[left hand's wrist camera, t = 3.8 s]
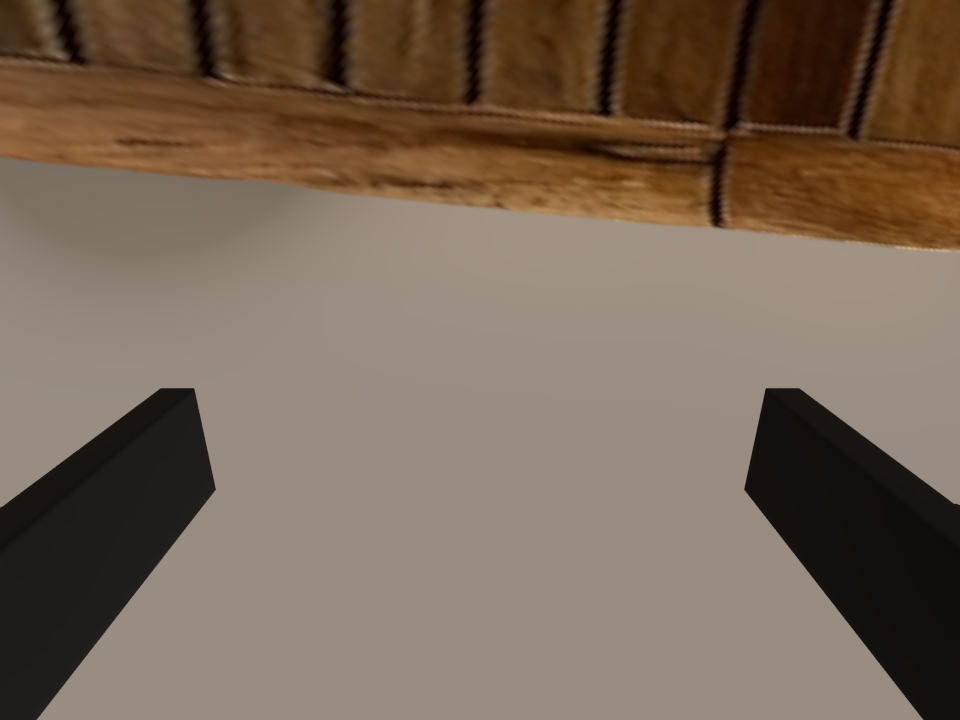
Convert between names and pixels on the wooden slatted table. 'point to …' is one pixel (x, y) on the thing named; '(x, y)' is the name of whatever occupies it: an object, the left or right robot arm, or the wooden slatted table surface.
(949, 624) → the left robot arm
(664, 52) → the wooden slatted table surface
